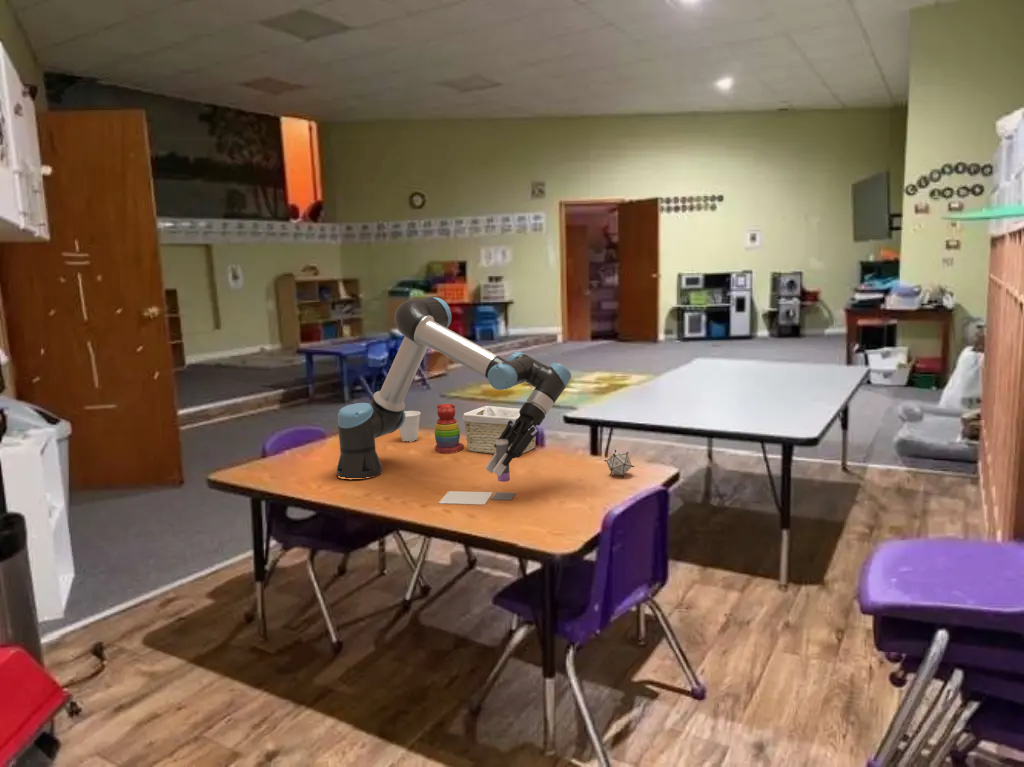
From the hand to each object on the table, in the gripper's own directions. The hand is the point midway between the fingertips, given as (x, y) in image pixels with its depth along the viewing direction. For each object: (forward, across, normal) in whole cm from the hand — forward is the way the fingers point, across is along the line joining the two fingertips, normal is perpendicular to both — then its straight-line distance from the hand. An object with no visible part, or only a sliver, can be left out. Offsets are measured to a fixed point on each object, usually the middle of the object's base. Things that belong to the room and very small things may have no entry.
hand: (492, 472), depth 220 cm
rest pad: (+3, 0, -9) cm, 9 cm away
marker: (-1, 0, -5) cm, 5 cm away
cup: (-4, +84, -15) cm, 85 cm away
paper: (+10, +7, -2) cm, 12 cm away
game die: (-25, -6, -37) cm, 45 cm away
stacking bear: (-7, +60, -18) cm, 63 cm away
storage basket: (-17, +47, -30) cm, 58 cm away
